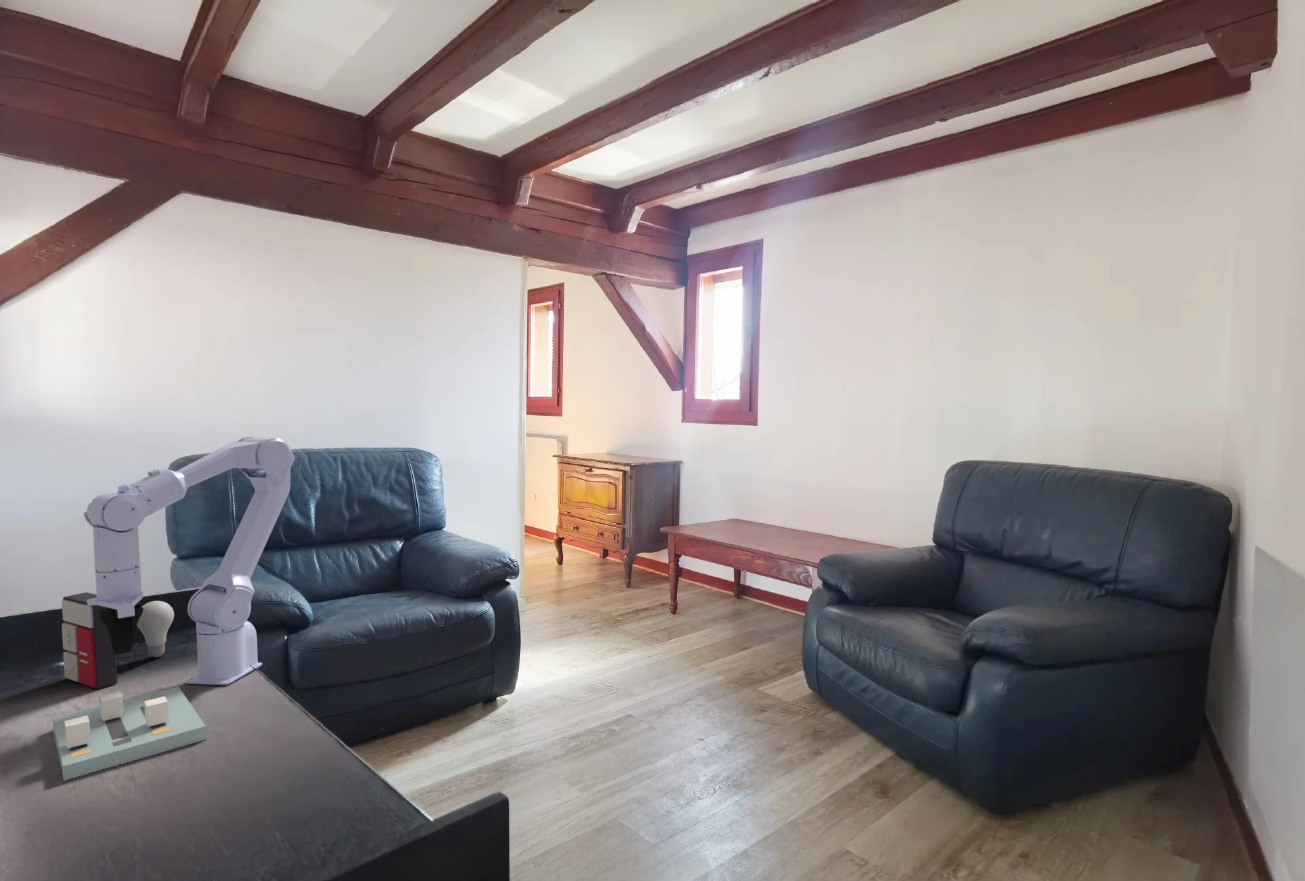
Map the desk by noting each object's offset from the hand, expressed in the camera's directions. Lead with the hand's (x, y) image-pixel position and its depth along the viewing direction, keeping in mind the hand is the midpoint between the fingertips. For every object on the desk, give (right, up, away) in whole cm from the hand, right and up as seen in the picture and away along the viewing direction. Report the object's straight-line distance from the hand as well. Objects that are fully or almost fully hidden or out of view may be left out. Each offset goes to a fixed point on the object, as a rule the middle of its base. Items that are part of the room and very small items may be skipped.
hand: (122, 652), depth 112 cm
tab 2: (+4, -7, -7) cm, 11 cm away
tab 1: (+6, -8, -15) cm, 18 cm away
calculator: (-15, -9, +12) cm, 21 cm away
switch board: (+7, -10, -8) cm, 15 cm away
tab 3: (+12, -7, -9) cm, 17 cm away
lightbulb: (-11, -8, +24) cm, 28 cm away
